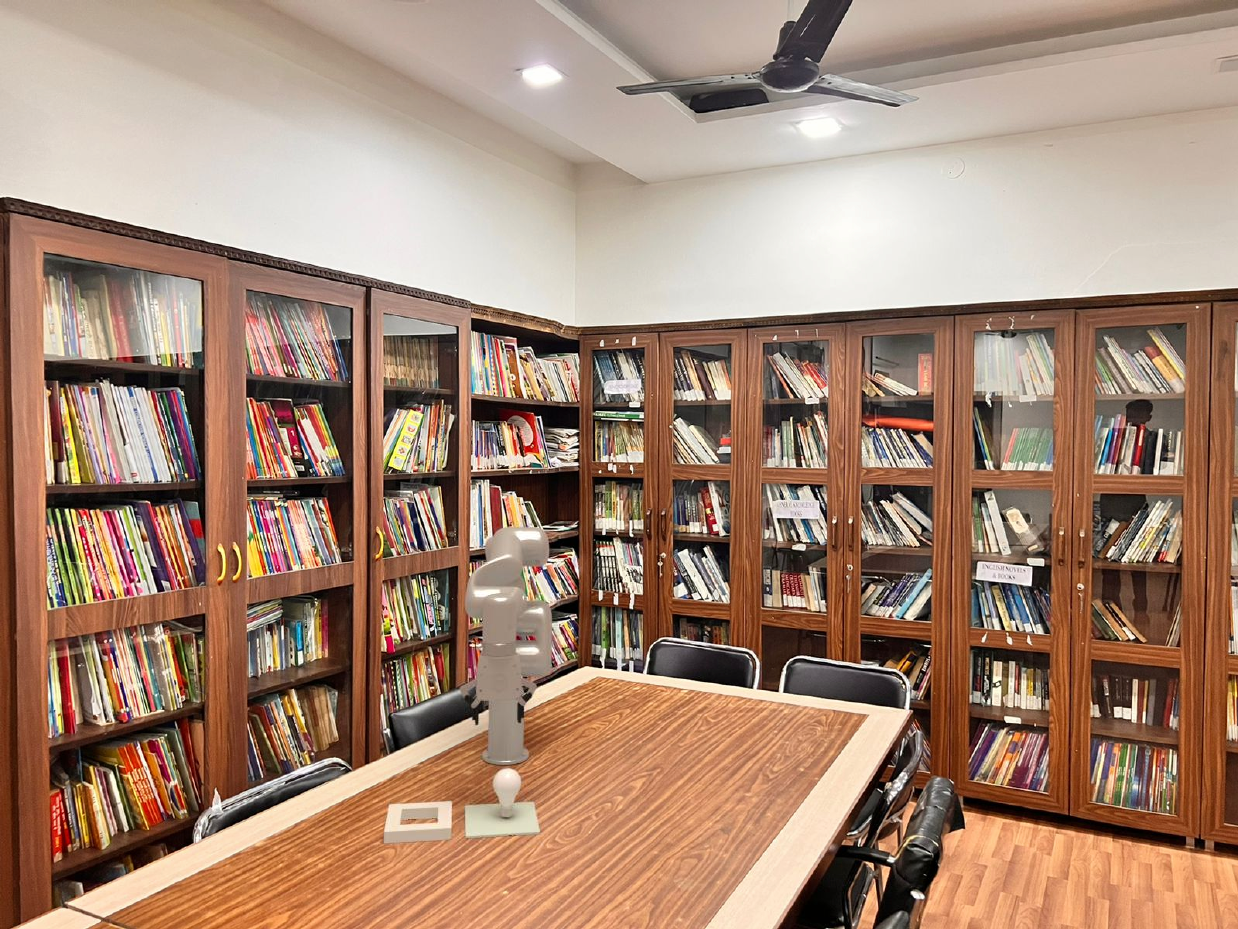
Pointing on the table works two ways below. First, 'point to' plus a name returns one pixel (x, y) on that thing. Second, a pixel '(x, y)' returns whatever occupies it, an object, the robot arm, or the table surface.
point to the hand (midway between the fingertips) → (498, 722)
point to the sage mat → (500, 820)
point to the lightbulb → (506, 789)
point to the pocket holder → (418, 831)
